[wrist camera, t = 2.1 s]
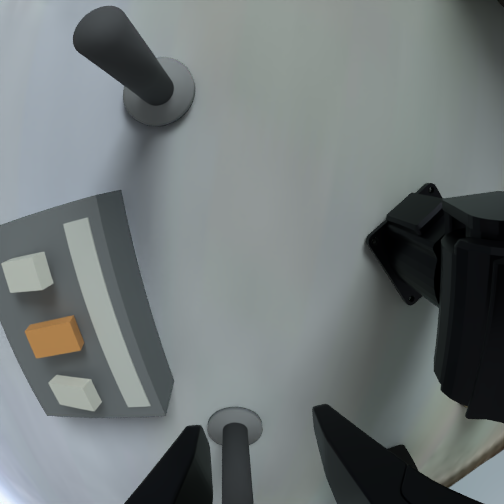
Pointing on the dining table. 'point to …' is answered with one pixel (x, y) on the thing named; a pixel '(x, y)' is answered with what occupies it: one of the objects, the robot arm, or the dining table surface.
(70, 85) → the dining table surface
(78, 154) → the dining table surface
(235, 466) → the cable post
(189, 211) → the dining table surface
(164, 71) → the post
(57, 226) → the board
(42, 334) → the block
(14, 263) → the pale grey rectangular block
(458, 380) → the robot arm
